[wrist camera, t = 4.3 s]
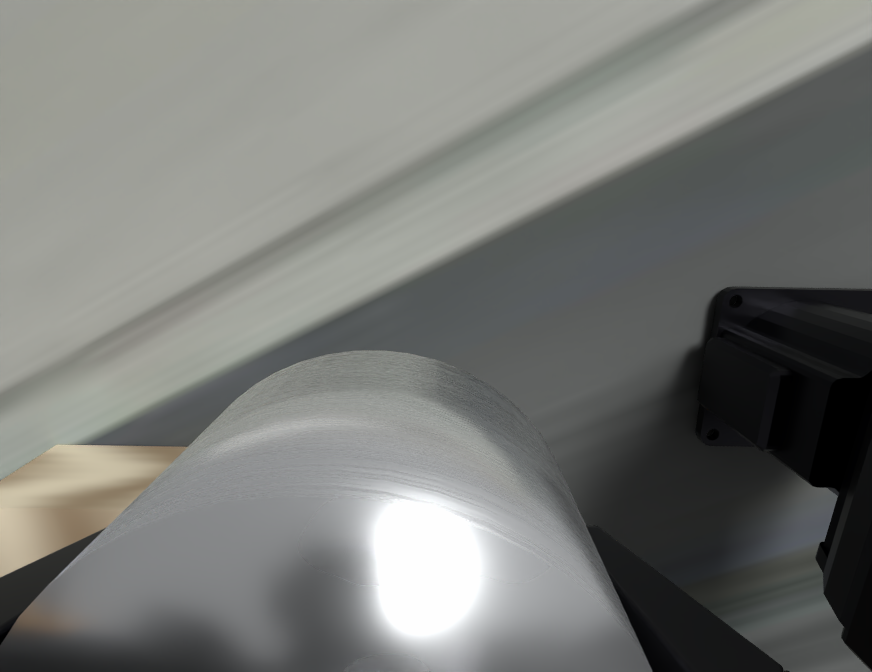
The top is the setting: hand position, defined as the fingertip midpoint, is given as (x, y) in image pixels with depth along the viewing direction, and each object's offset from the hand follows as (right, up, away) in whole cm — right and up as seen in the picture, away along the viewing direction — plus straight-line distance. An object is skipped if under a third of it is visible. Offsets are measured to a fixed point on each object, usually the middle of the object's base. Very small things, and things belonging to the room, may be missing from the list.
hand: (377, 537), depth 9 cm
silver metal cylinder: (0, +1, +4) cm, 4 cm away
